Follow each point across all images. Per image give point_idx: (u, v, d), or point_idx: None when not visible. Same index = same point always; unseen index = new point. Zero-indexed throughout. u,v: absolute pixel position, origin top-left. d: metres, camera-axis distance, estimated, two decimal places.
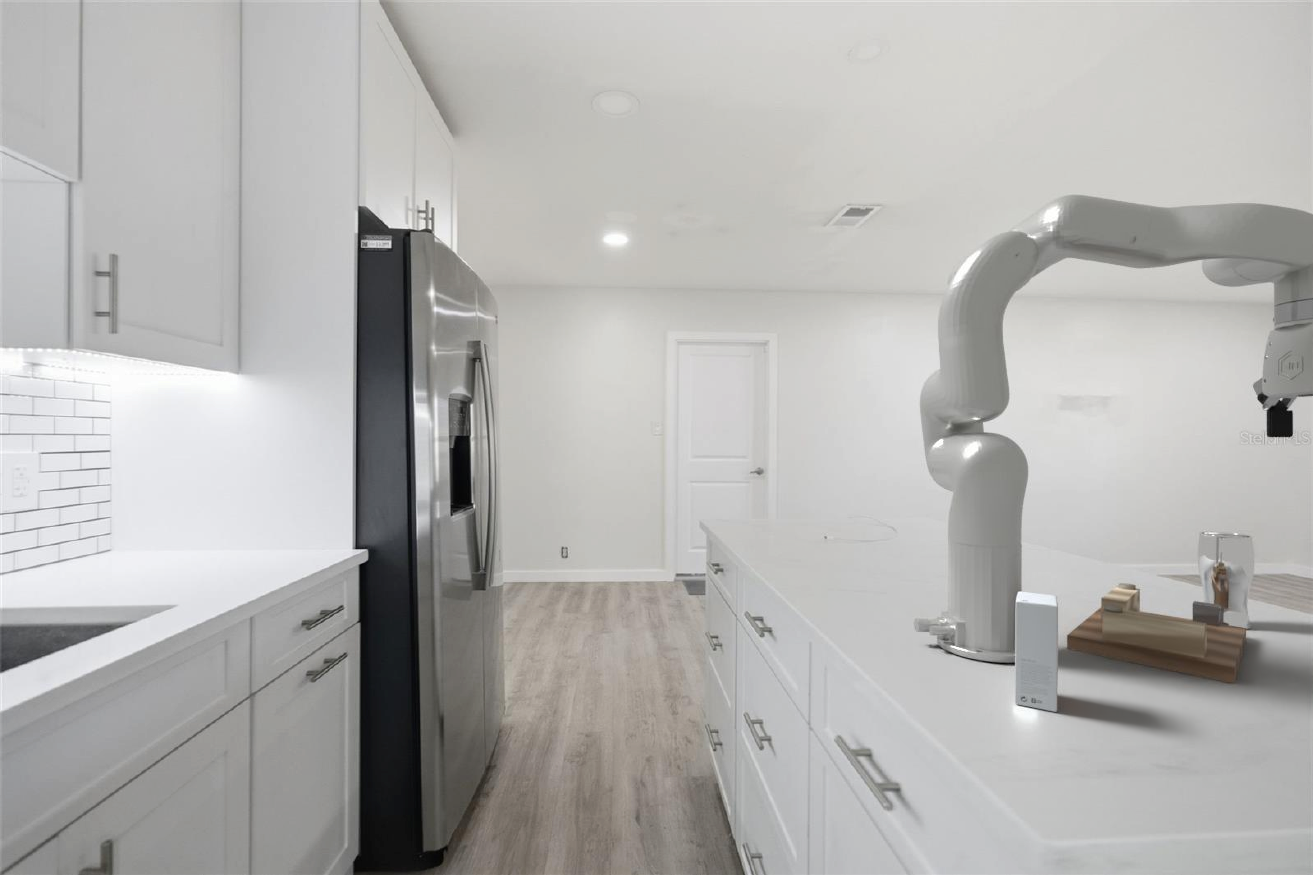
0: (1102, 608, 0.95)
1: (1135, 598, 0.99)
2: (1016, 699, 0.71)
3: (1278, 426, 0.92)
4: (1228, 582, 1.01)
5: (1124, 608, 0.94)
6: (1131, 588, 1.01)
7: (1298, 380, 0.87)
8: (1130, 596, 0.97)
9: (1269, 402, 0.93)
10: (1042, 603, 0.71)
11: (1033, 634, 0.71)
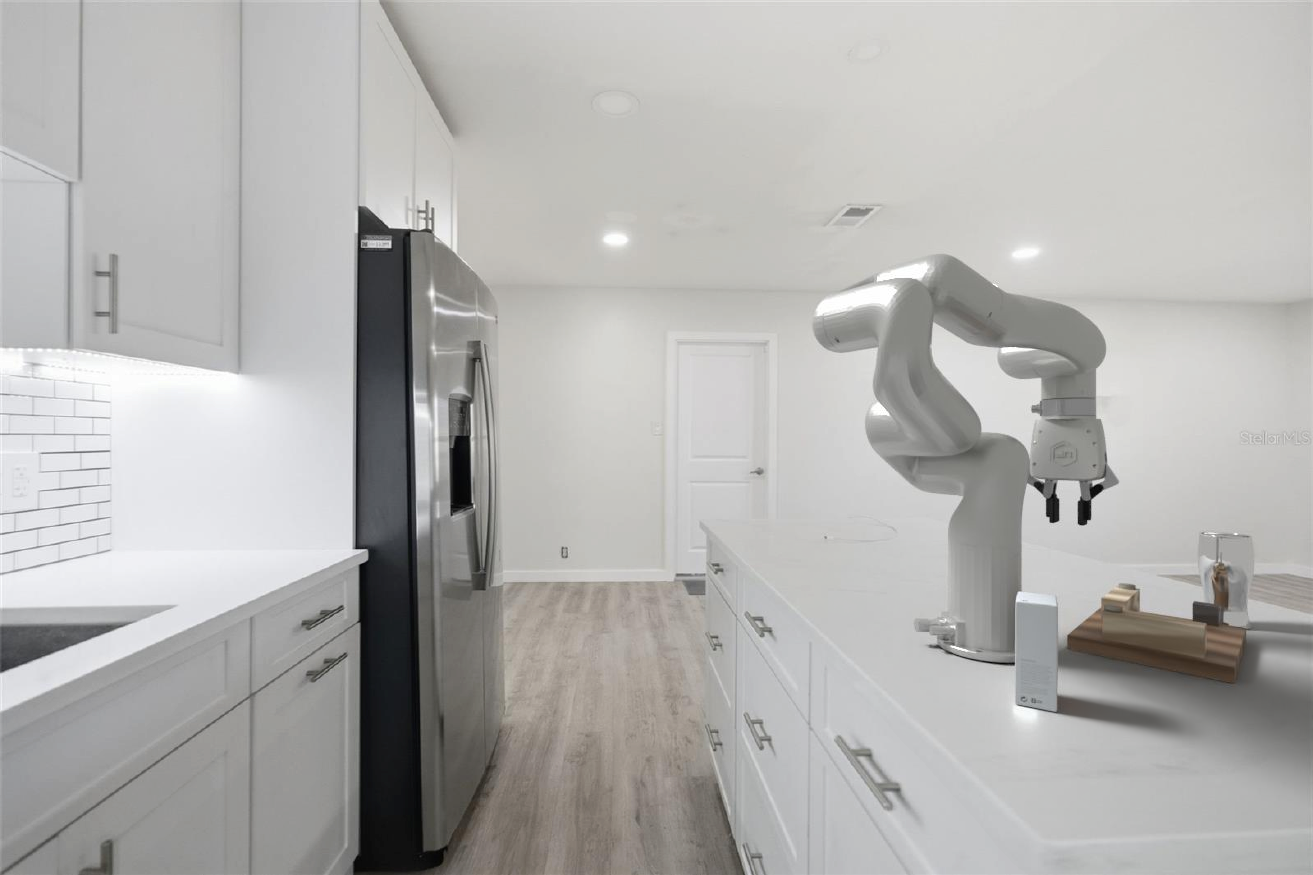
0: (1102, 608, 0.95)
1: (1135, 598, 0.99)
2: (1016, 699, 0.71)
3: (1056, 513, 1.02)
4: (1228, 582, 1.01)
5: (1124, 608, 0.94)
6: (1131, 588, 1.01)
7: (1072, 468, 0.99)
8: (1130, 596, 0.97)
9: (1050, 491, 1.02)
10: (1042, 603, 0.71)
11: (1033, 634, 0.71)
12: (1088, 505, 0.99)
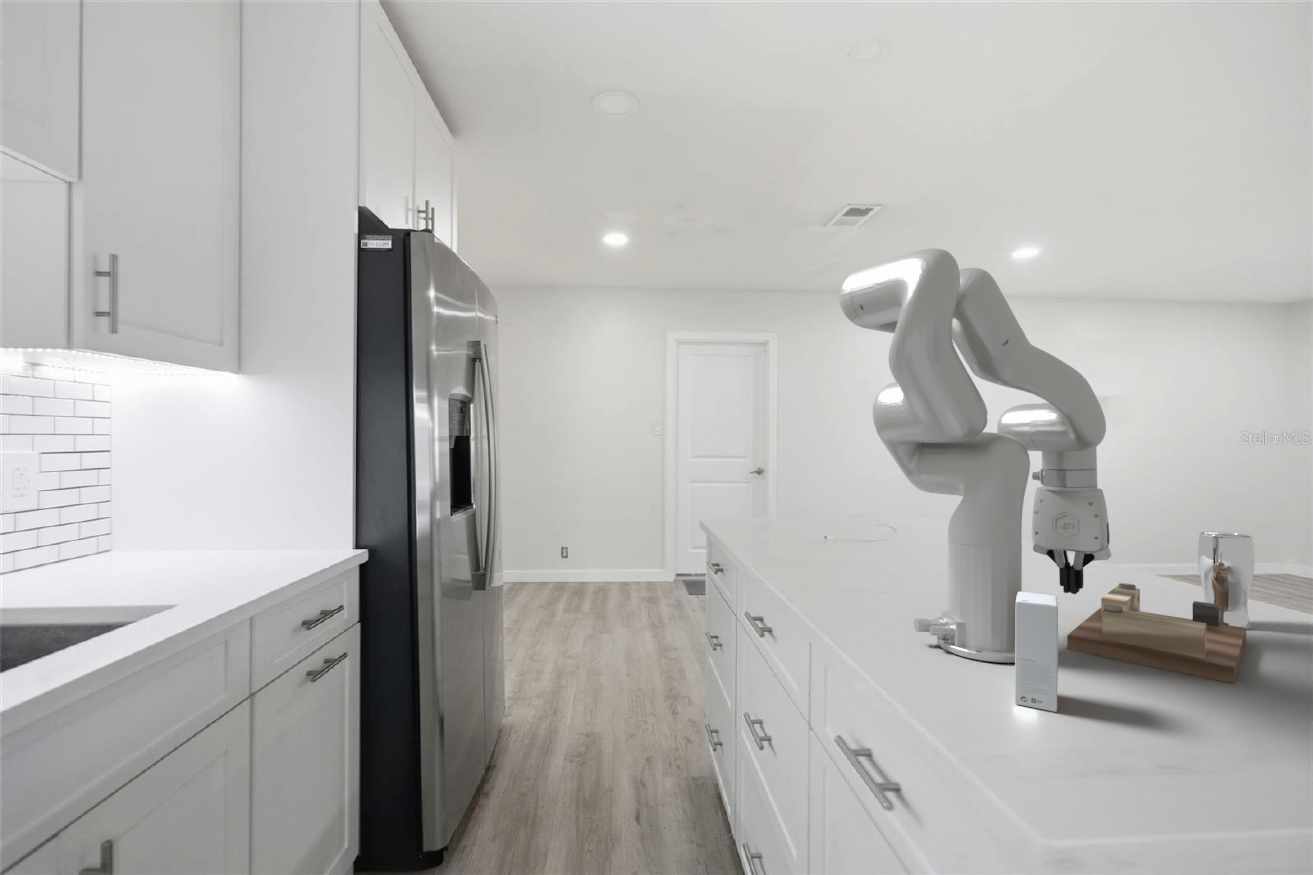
0: (1102, 608, 0.95)
1: (1135, 598, 0.99)
2: (1016, 699, 0.71)
3: None
4: (1228, 582, 1.01)
5: (1124, 608, 0.94)
6: (1131, 588, 1.01)
7: (1074, 539, 0.99)
8: (1130, 596, 0.97)
9: (1064, 561, 1.01)
10: (1042, 603, 0.71)
11: (1033, 634, 0.71)
12: (1080, 574, 1.00)
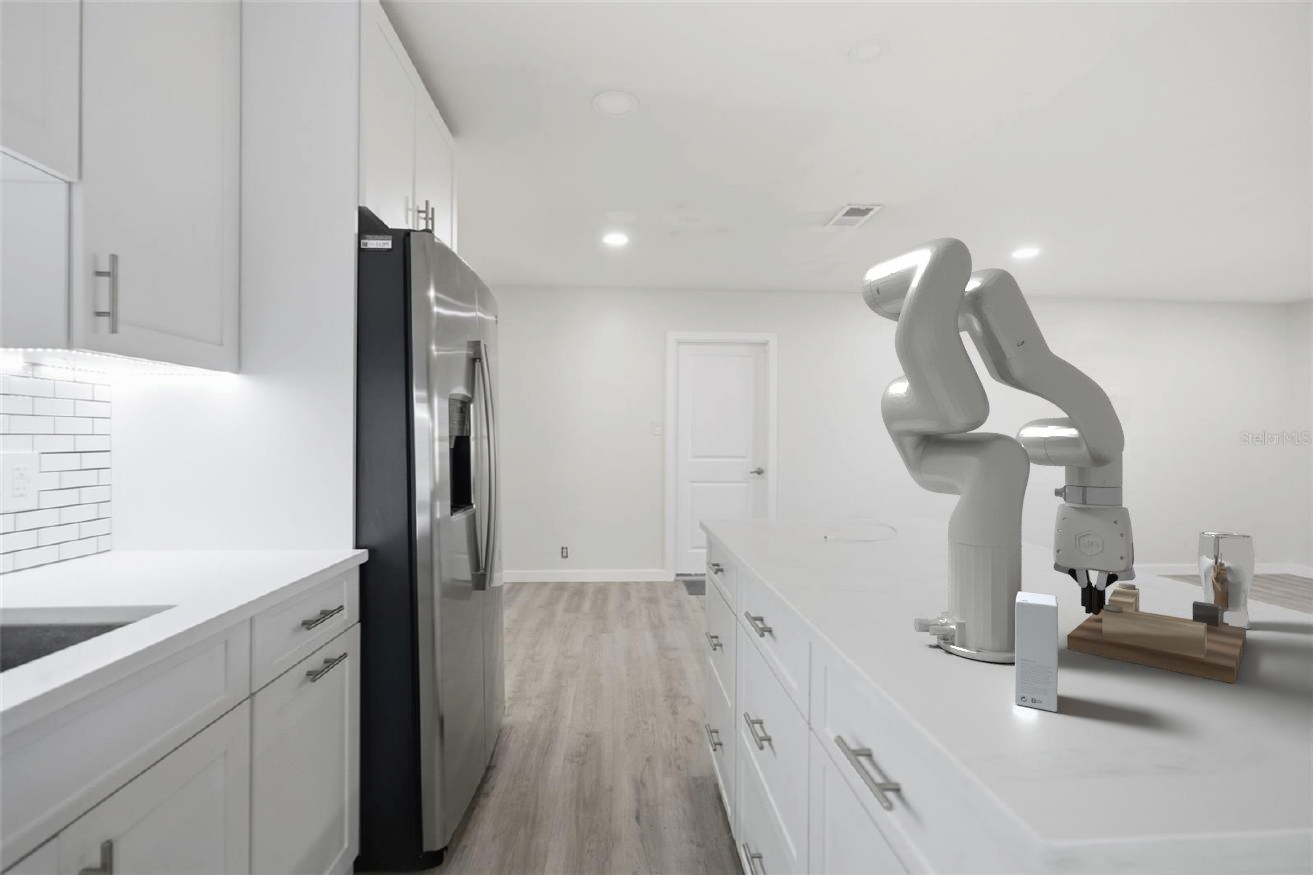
0: None
1: (1137, 598, 0.99)
2: (1016, 699, 0.71)
3: (1091, 603, 0.99)
4: (1229, 582, 1.01)
5: (1131, 609, 0.93)
6: (1132, 588, 1.01)
7: (1098, 558, 0.96)
8: (1134, 596, 0.96)
9: (1086, 580, 0.98)
10: (1042, 603, 0.71)
11: (1033, 634, 0.71)
12: (1102, 594, 0.97)
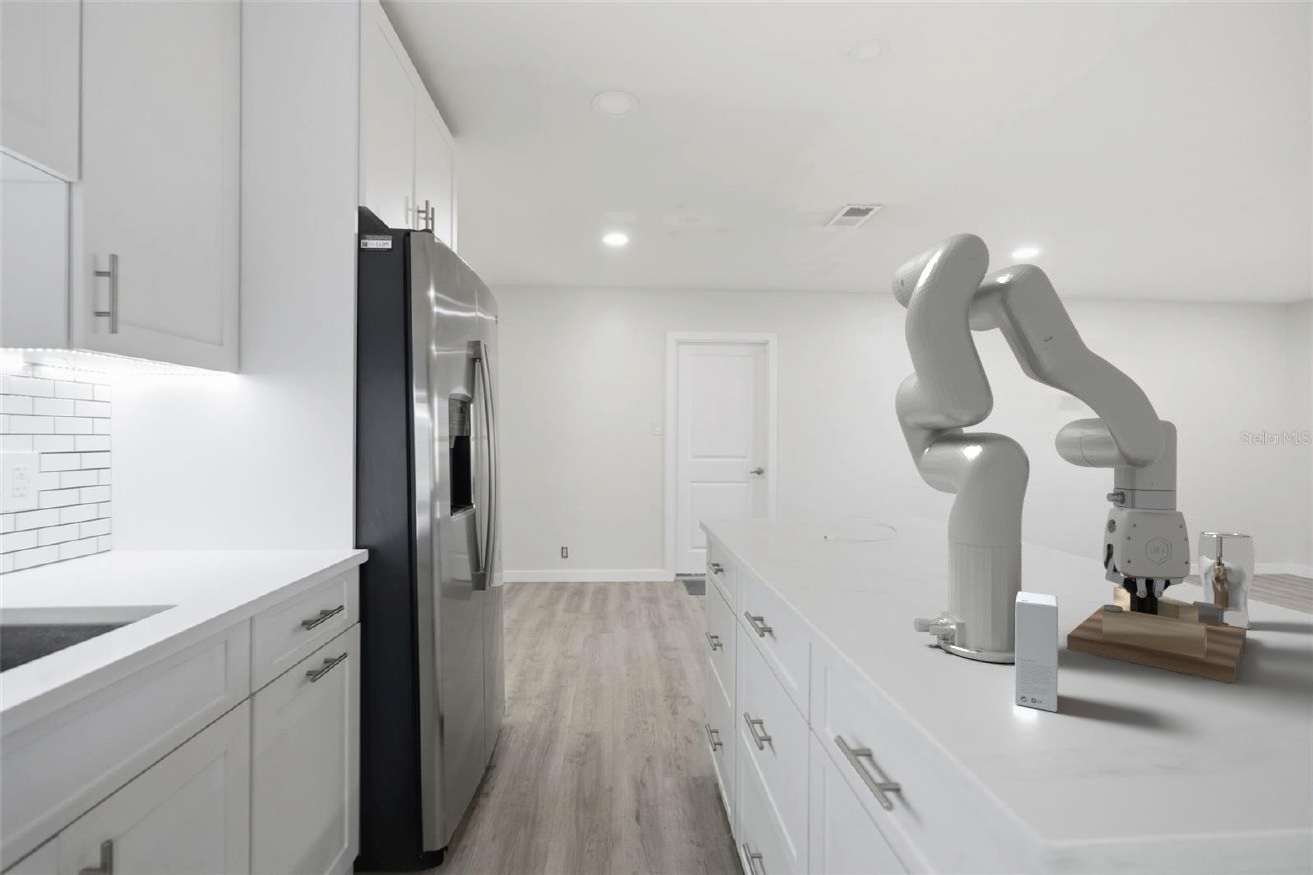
0: (1180, 616, 0.91)
1: None
2: (1016, 699, 0.71)
3: None
4: (1228, 582, 1.01)
5: (1197, 612, 0.91)
6: None
7: (1166, 565, 0.92)
8: None
9: (1146, 589, 0.93)
10: (1042, 603, 0.71)
11: (1033, 634, 0.71)
12: None
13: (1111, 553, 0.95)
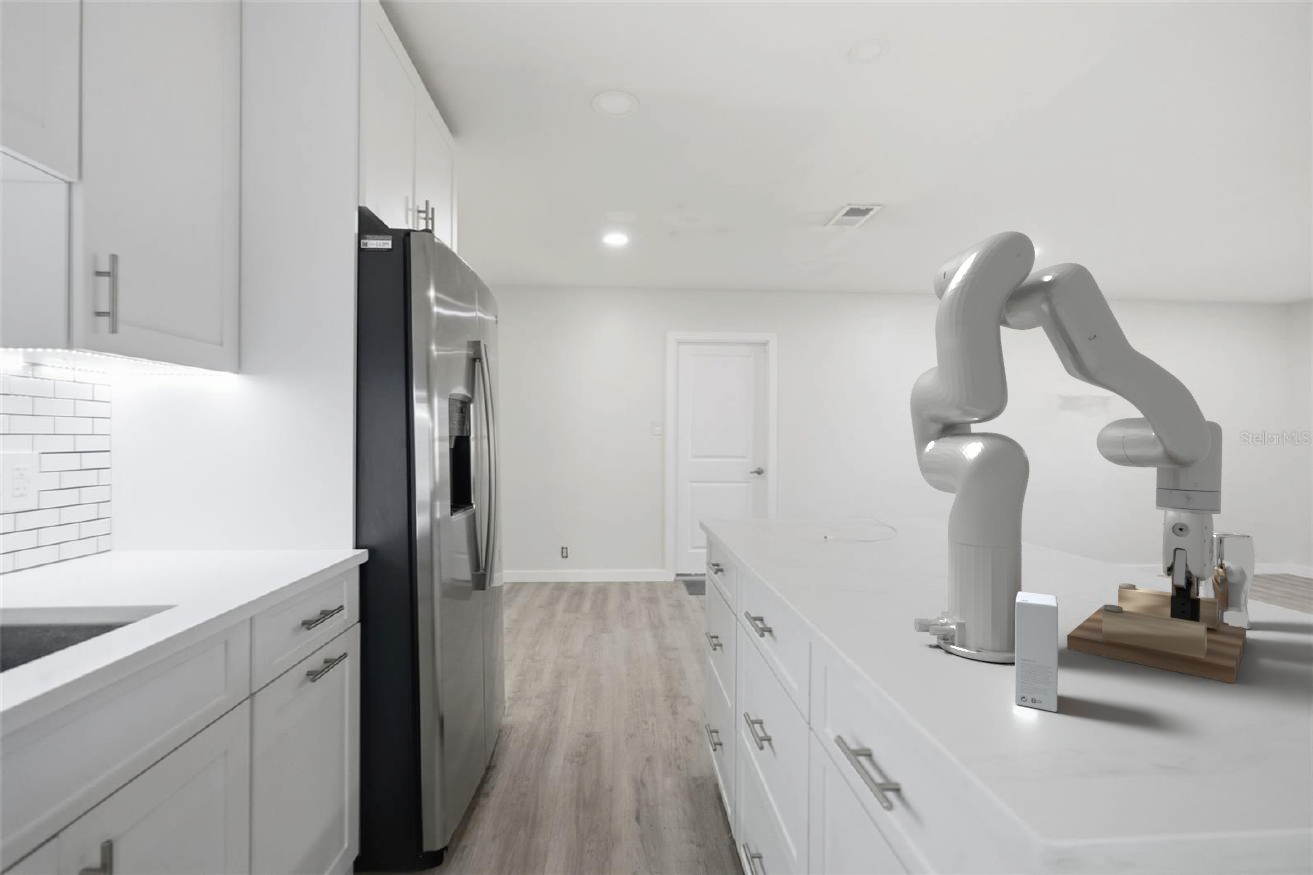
0: (1217, 612, 0.93)
1: None
2: (1016, 699, 0.71)
3: None
4: (1229, 582, 1.01)
5: (1217, 605, 0.95)
6: None
7: (1212, 564, 0.93)
8: None
9: (1196, 590, 0.93)
10: (1042, 603, 0.71)
11: (1033, 634, 0.71)
12: None
13: (1175, 557, 0.92)
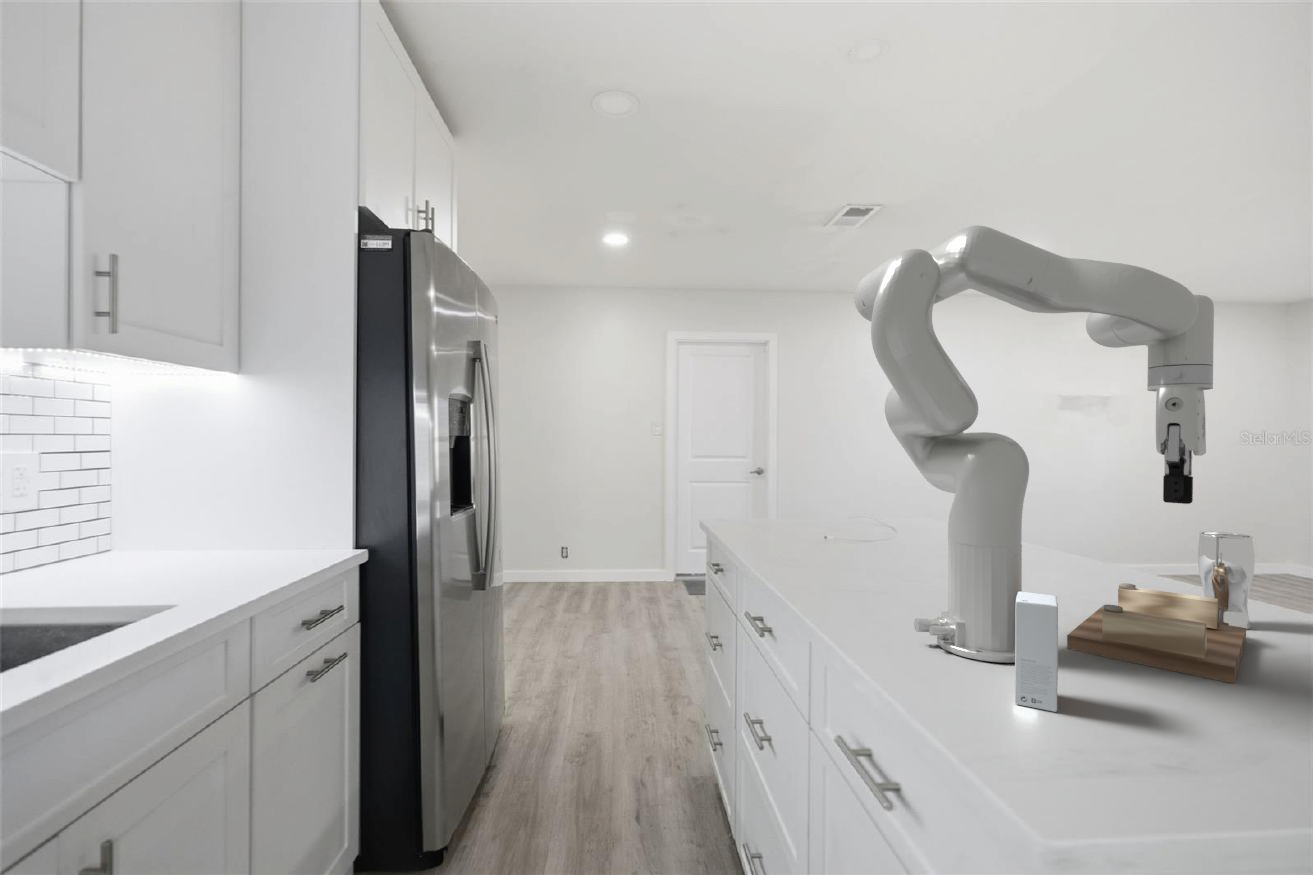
0: (1217, 612, 0.93)
1: None
2: (1016, 699, 0.71)
3: None
4: (1228, 582, 1.01)
5: (1217, 605, 0.95)
6: None
7: (1204, 442, 0.92)
8: None
9: None
10: (1042, 603, 0.71)
11: (1033, 635, 0.71)
12: None
13: (1169, 433, 0.90)
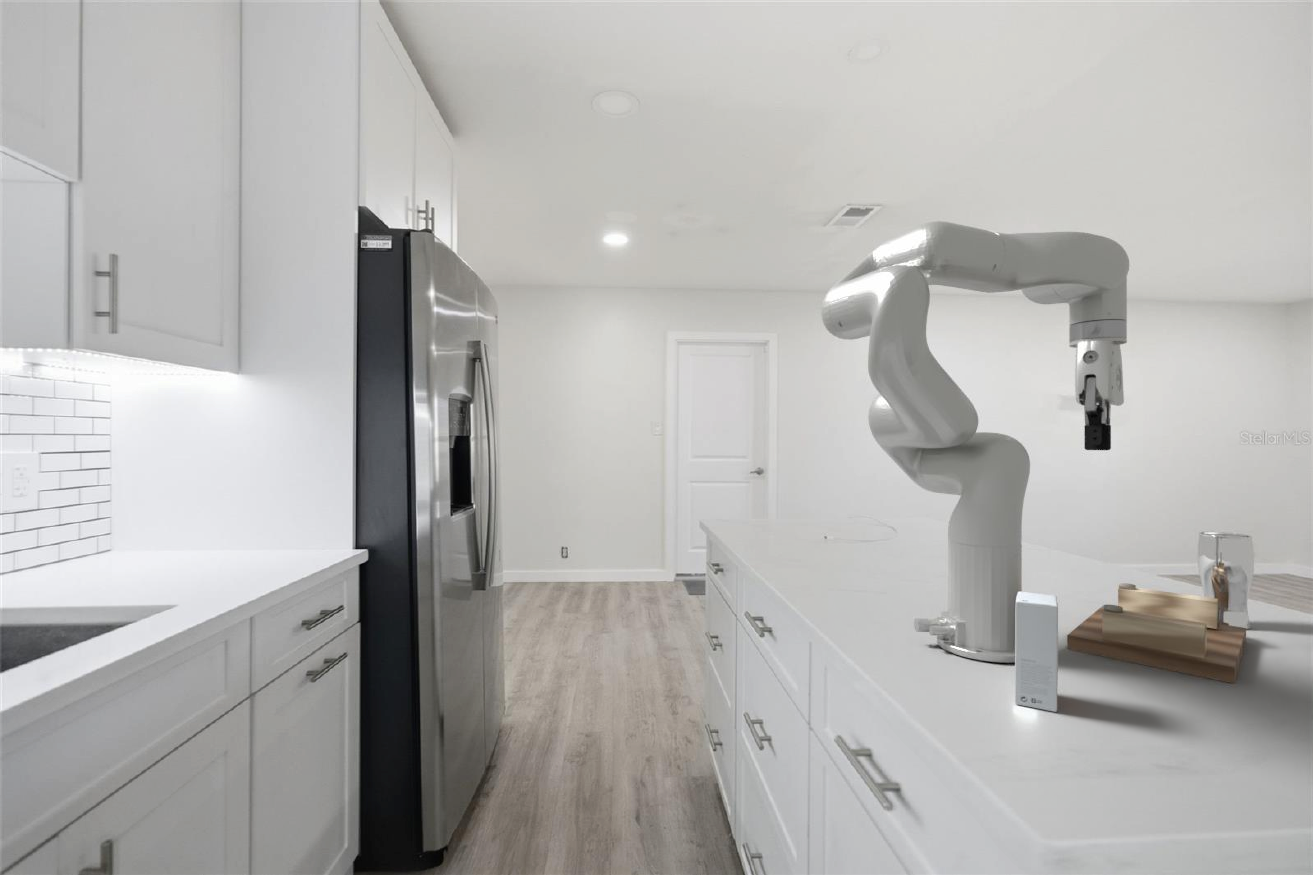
0: (1217, 612, 0.93)
1: None
2: (1016, 699, 0.71)
3: None
4: (1228, 582, 1.01)
5: (1217, 605, 0.95)
6: None
7: (1120, 392, 0.98)
8: None
9: (1106, 417, 0.98)
10: (1042, 603, 0.71)
11: (1033, 635, 0.71)
12: None
13: (1086, 384, 0.97)
